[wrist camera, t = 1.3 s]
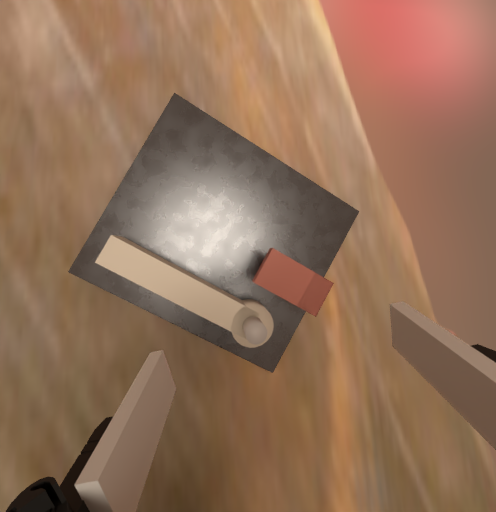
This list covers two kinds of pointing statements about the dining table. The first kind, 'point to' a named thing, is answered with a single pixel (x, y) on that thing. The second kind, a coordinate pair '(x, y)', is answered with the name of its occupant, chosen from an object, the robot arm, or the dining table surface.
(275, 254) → the block
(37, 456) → the dining table surface
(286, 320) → the base plate
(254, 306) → the link
